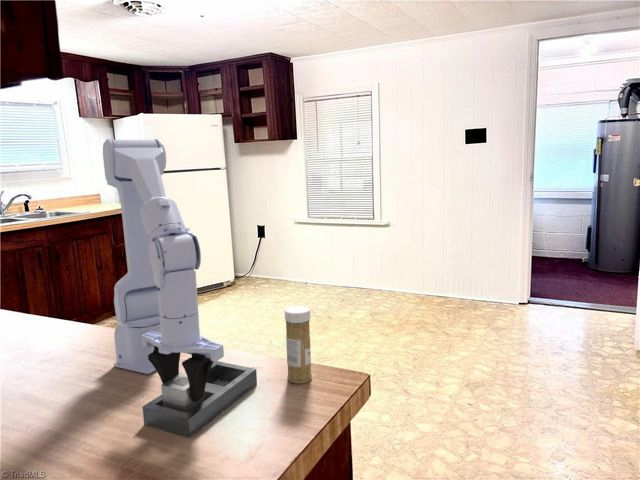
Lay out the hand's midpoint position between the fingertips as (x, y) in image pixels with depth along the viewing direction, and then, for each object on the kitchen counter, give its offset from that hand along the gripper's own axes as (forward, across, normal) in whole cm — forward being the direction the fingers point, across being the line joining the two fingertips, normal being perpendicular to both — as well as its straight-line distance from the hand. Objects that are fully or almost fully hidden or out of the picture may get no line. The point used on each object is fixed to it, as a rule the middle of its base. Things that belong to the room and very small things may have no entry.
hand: (185, 395), depth 75 cm
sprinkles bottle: (+4, +10, +18) cm, 22 cm away
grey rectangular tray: (+4, 0, +4) cm, 6 cm away
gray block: (+2, 0, 0) cm, 2 cm away
